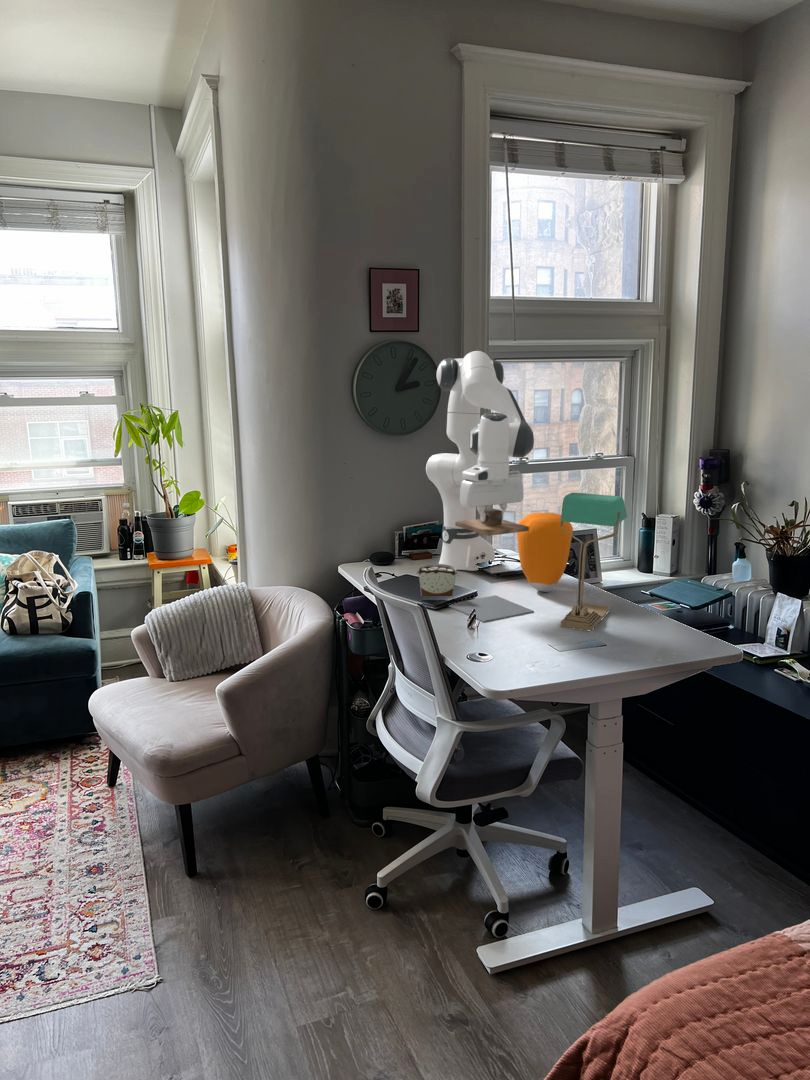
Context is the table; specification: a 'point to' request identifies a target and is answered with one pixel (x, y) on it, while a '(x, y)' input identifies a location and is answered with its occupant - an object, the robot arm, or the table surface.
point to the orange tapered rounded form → (544, 549)
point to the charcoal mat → (490, 608)
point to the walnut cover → (492, 524)
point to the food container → (437, 579)
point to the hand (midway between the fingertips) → (491, 520)
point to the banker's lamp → (586, 512)
